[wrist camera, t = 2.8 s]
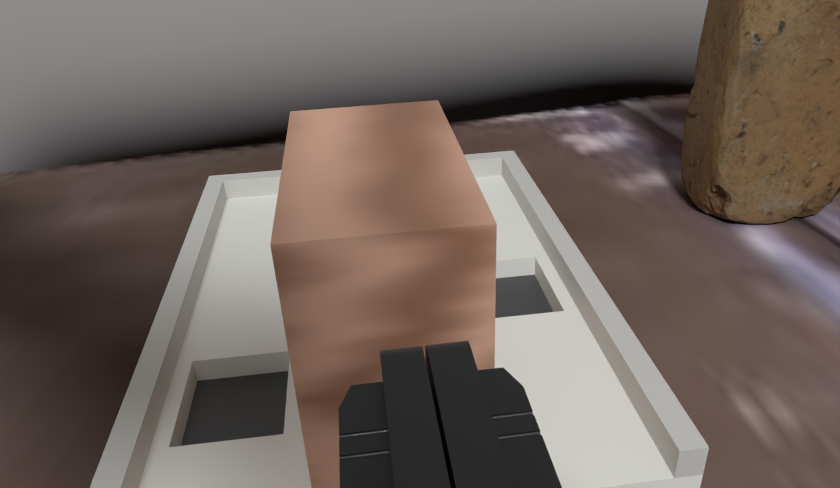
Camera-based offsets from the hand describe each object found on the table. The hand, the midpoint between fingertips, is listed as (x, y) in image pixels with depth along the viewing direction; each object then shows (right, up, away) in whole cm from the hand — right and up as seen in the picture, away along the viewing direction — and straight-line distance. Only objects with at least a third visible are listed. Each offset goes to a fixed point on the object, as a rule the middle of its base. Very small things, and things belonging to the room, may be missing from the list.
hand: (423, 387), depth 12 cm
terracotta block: (-1, -5, +21) cm, 21 cm away
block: (+25, +5, +40) cm, 47 cm away
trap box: (-2, -2, +30) cm, 30 cm away
